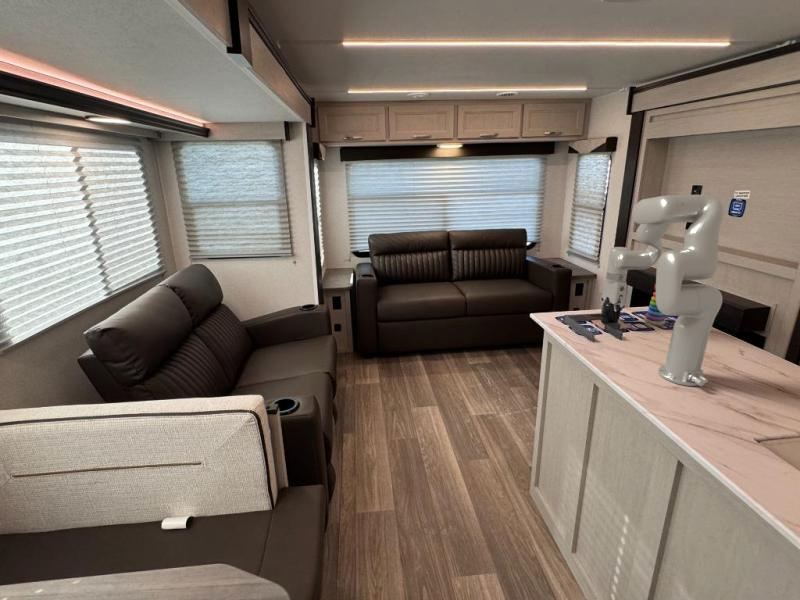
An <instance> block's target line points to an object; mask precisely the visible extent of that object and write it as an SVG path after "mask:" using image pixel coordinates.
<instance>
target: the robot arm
mask: <svg viewBox="0 0 800 600" xmlns="http://www.w3.org/2000/svg"><path fill="white" fill-rule="evenodd" d="M631 214H632V215H631V217H632V219H633V221H634V223H636V224H638V225H639V226H638V228H637V229H636V231H635V233H636V234H635V235H636V237H637V239H638V240H639V241H640V242H642V243H644V244H646V245H647V248H646V249H645V250H641V249H639V250H638V249H637V250H630V248H629V247H625V246H614V247H612V248H610V249H609V255H608V263H607V269H606V275H605V279H604V282H603V283H604V284H603V288H602V292H601V293H600V297H601V307H602V306H603V303H604V302H606V297H608V298H609V301H610V303H612V304H613V306H614V311H613V312H612V320H617V319H618V320H620V316H621V312H622V311H623V309H624V308H625V307H626V306H627V304H626V300H627V287H628V285H627V276H628V275H627V274H628V271H631V270H647V269H650V268H652V267H653V266H654V265H655V264H656V273H655V275H656V276H655V284H656V291H655V292H656V305H657V308H658V310H659V311H660V312H661V313H662V314H664V315H665V316H675V317H676V316H678V317H677V318H676V320H675V322H674V324H673V326H672V327H673V328H672V332H671V338H670V340H669V341H670V342H669V346H668V351H667V356H666V360H665V364H664V365H661V366H660V367H659V368H658V374H659V376H660V377H662V378H663V379H665V380H667V381H669V382H671V383H675V384H678V385H682V386H689V387H697V386H699V387H703V386H704V385H705V384H706V383H708V382H709V379H708V378H706V377H705V376H704V370H702V366H703V361H704V358H705V353H706V350H707V345H708V341H709V338H710V335H711V332H712V328H713V325H714V322H715V319H716V317H717V315H718V313H719V311H720V309H721V308H722V305H723V295H722V292H721V291H720V290H719V288H717V287H716V286H713V285H711V284H703V283H701V284H699V283H698V284H696V283H691V284H683V281H701V280H709V279H711V278H712V277H714V276H715V275H716V272H717V270H718V259H719V258H718V257H719V241H720V240H719V237H720V230H721V226H722V221H723V218H724V208H723V205H722V202H721V201H720V200H719V198H717V197H714V196H711V195H707V194H682V195H681V194H680V195H679V194H677V195H676V194H674V195H672V194H670V195H661V196H659V195H658V196H655V197H649V198H644V199H641V200H639V201H638V202H636V204H635V206H634V207H633V209H632V213H631ZM675 223H691V224H690V225H689V227H688V228H687V230H686V232H685V233H684V237H683V248H680V249H676V248H675V249H669V250H667V251H665V252H663V248H664V247H663V241H662V238H663V237H664V235H666V233H667V231H668V230H670V228H671V227H672V225H673V224H675ZM656 262H657V263H656ZM617 302H618V304H617ZM616 305H618V307H616ZM600 313H602V309H601V312H600Z"/></svg>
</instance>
